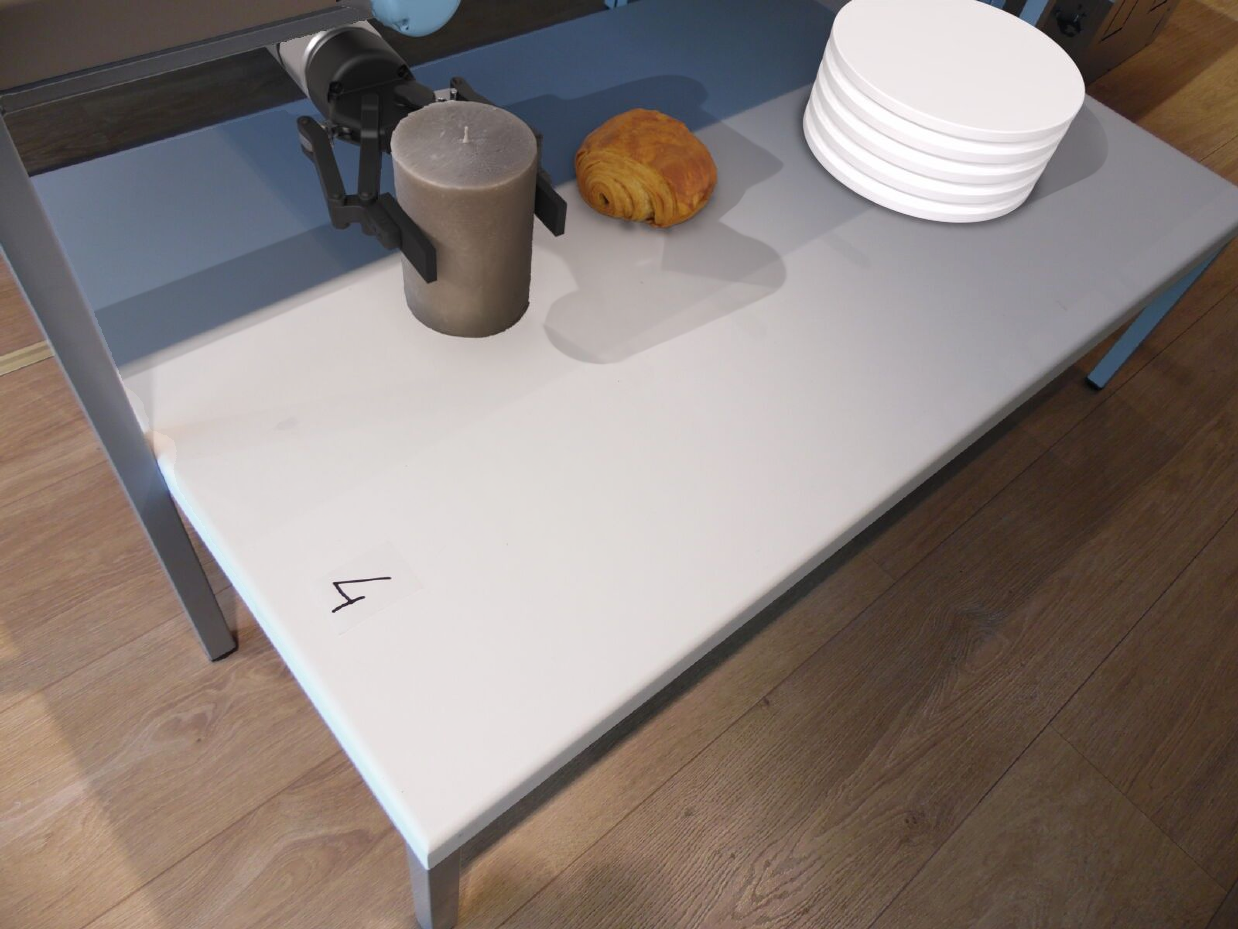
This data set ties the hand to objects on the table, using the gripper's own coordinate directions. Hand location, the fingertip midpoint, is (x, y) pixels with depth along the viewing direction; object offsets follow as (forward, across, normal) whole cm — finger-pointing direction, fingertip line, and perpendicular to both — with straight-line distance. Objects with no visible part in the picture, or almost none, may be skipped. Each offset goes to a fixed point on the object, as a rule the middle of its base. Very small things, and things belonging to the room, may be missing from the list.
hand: (498, 242), depth 62 cm
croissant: (-18, -30, -18) cm, 39 cm away
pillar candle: (-4, 0, -9) cm, 10 cm away
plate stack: (-10, -64, -18) cm, 68 cm away
